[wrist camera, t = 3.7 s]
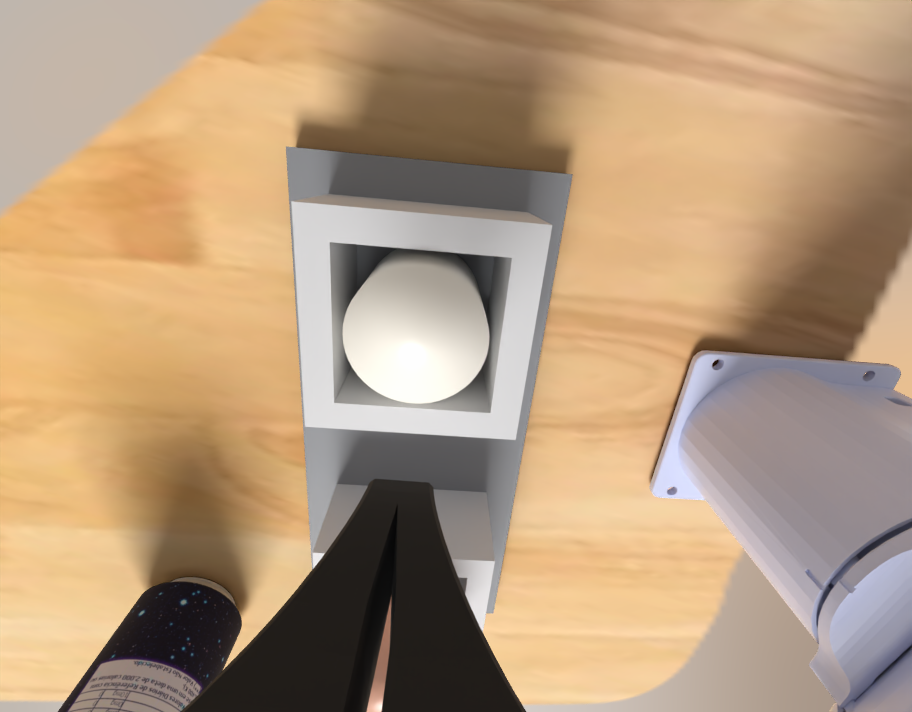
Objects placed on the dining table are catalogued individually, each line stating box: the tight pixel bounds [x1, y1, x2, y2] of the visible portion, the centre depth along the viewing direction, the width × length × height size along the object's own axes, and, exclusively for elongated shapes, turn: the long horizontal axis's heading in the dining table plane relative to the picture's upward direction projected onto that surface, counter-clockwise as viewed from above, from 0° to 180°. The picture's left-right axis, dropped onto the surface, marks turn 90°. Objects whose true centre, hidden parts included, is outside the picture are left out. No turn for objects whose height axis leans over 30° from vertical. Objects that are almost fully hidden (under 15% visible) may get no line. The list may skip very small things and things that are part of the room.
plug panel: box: [286, 147, 573, 632], centre depth 18 cm, size 10×23×5 cm, turn 175°
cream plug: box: [342, 248, 489, 404], centre depth 15 cm, size 4×4×4 cm
